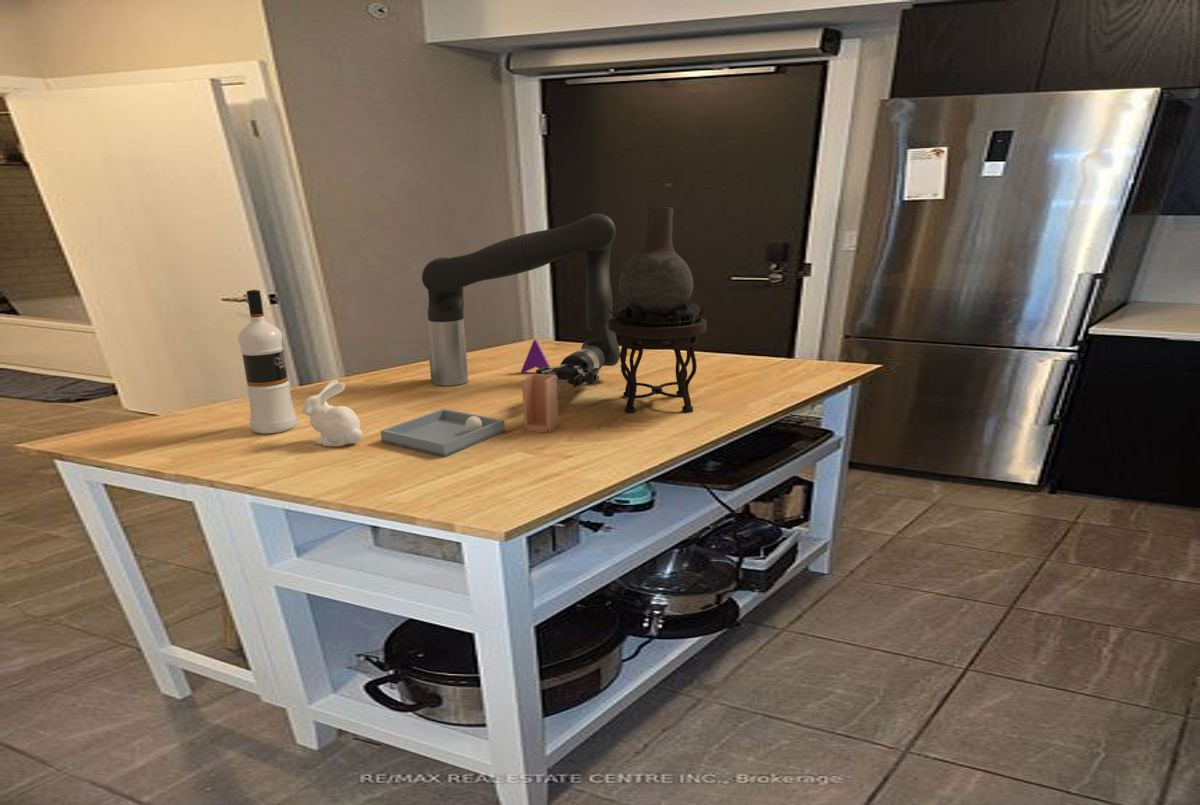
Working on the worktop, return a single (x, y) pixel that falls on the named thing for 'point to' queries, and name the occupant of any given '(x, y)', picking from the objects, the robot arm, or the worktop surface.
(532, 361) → the arrowhead
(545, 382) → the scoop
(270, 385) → the vodka
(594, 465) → the worktop surface
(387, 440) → the tray
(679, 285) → the brazier
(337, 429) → the rabbit
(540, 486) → the worktop surface
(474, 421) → the ball
